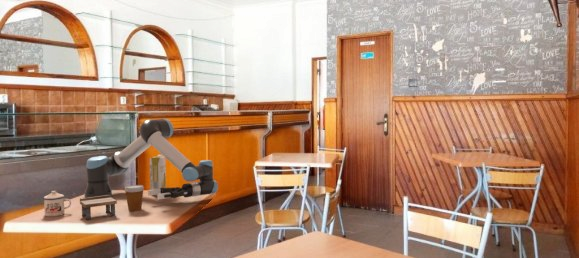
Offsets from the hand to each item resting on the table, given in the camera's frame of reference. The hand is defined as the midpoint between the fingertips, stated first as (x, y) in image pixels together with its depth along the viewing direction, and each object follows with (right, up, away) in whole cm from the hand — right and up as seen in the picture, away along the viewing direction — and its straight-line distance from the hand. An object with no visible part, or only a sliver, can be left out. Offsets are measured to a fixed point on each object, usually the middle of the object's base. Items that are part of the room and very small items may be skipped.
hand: (152, 194), depth 228 cm
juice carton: (-8, -5, +35) cm, 36 cm away
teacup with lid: (-43, -8, -13) cm, 46 cm away
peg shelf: (-21, -8, -18) cm, 28 cm away
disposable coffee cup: (-7, -7, -5) cm, 12 cm away
